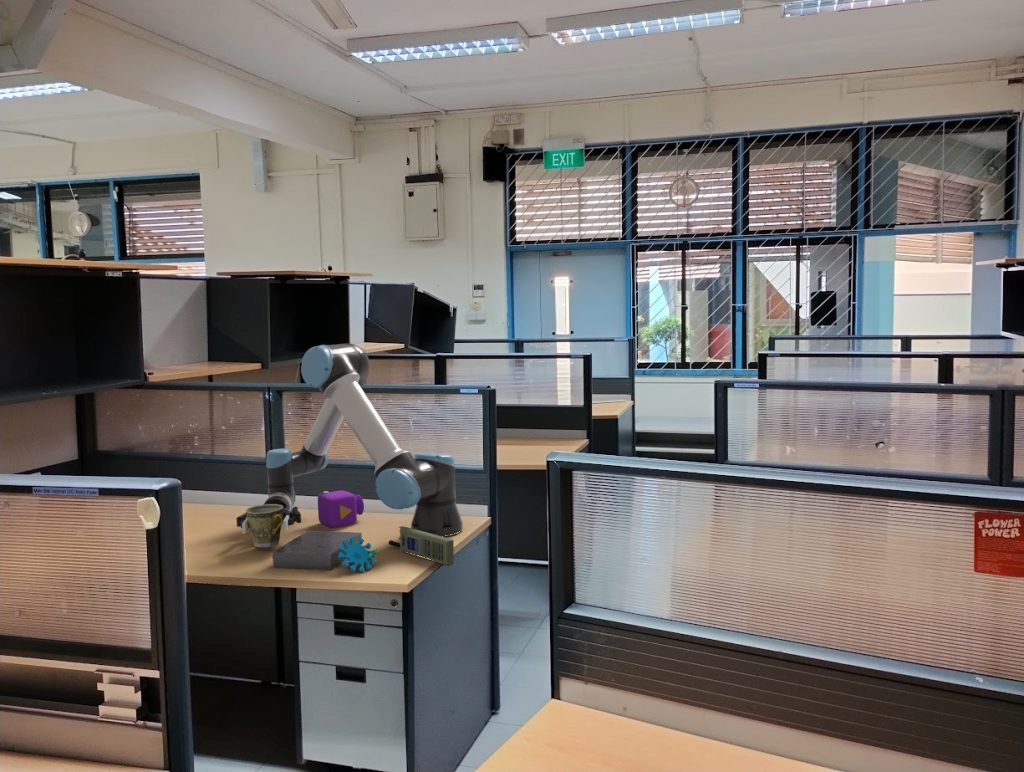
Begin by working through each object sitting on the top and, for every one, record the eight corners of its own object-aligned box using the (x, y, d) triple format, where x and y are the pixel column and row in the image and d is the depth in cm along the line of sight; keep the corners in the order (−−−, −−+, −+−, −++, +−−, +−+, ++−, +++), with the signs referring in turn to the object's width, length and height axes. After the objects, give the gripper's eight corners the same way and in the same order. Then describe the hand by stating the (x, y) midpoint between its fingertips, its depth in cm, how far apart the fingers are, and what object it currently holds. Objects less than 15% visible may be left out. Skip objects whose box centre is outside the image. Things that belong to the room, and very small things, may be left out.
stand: (362, 546, 221) (361, 532, 221) (331, 570, 202) (330, 554, 202) (308, 544, 225) (307, 530, 224) (273, 567, 205) (272, 552, 205)
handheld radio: (446, 567, 203) (385, 548, 220) (455, 564, 205) (394, 546, 222) (446, 541, 202) (384, 524, 219) (455, 538, 205) (394, 522, 222)
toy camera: (371, 520, 249) (369, 489, 248) (334, 530, 238) (333, 497, 237) (349, 515, 256) (348, 484, 255) (313, 524, 246) (311, 492, 245)
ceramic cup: (240, 545, 221) (238, 509, 220) (271, 536, 228) (269, 502, 227) (268, 553, 213) (266, 516, 212) (299, 544, 220) (297, 508, 219)
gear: (344, 571, 196) (335, 536, 202) (336, 583, 199) (327, 549, 205) (385, 567, 203) (374, 534, 208) (376, 580, 206) (366, 546, 212)
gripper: (316, 517, 240) (308, 538, 218) (238, 522, 237) (221, 543, 215) (315, 492, 239) (306, 511, 217) (236, 497, 236) (219, 516, 214)
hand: (264, 527), depth 216 cm, fingers closed on ceramic cup, 10 cm apart
